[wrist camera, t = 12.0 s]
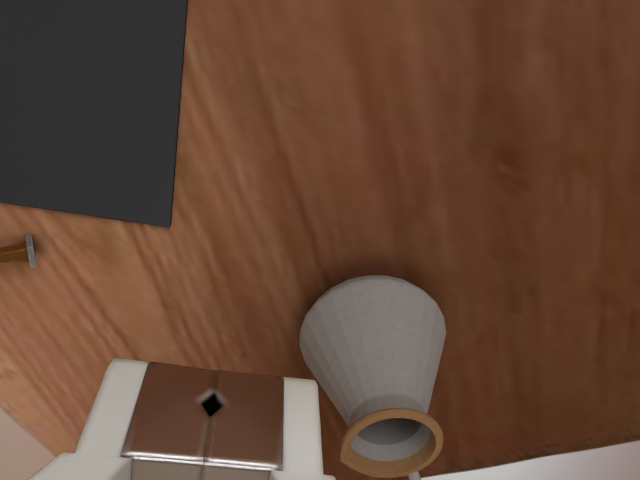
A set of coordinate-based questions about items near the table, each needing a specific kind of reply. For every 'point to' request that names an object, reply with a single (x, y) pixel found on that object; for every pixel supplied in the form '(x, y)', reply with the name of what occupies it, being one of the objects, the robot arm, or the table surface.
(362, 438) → the coffee pot
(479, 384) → the table surface
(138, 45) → the desk mat
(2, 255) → the wooden post with brackets
